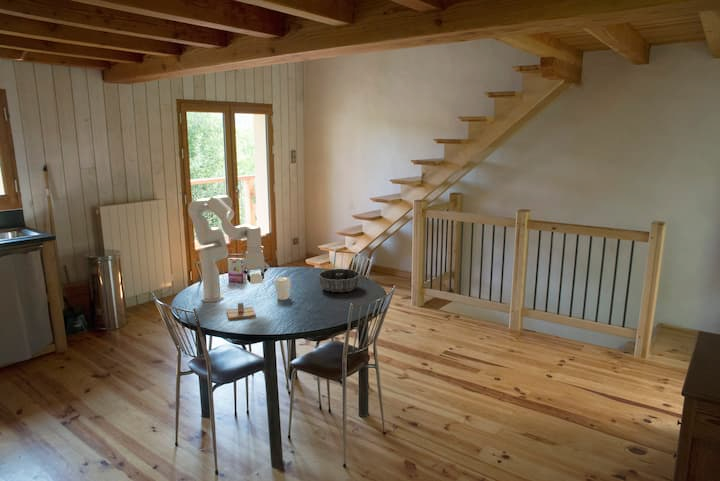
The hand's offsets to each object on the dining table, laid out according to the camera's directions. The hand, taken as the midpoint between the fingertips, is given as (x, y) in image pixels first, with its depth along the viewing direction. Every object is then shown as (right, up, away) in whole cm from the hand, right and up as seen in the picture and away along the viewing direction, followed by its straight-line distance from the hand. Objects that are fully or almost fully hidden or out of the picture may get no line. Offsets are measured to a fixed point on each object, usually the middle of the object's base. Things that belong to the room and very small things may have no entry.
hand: (255, 280), depth 275 cm
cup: (+12, -13, +24) cm, 29 cm away
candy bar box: (-24, -6, +59) cm, 64 cm away
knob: (0, -1, 0) cm, 1 cm away
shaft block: (-7, -18, -5) cm, 20 cm away
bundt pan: (+45, -9, +41) cm, 61 cm away
